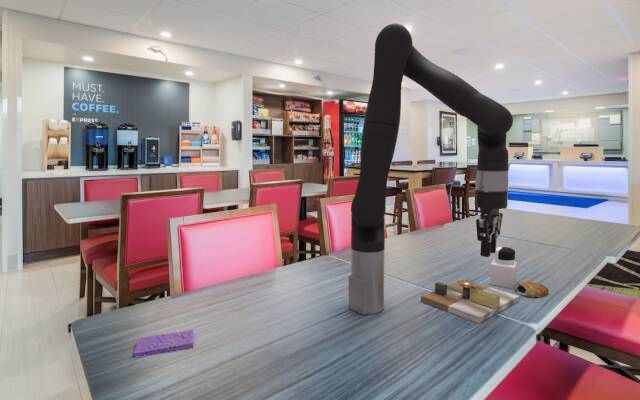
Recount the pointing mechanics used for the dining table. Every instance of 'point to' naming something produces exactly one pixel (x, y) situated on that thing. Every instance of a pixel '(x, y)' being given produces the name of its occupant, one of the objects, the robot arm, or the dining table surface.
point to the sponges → (164, 343)
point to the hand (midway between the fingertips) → (488, 254)
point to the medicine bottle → (503, 268)
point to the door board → (466, 301)
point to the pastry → (531, 289)
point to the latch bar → (481, 294)
